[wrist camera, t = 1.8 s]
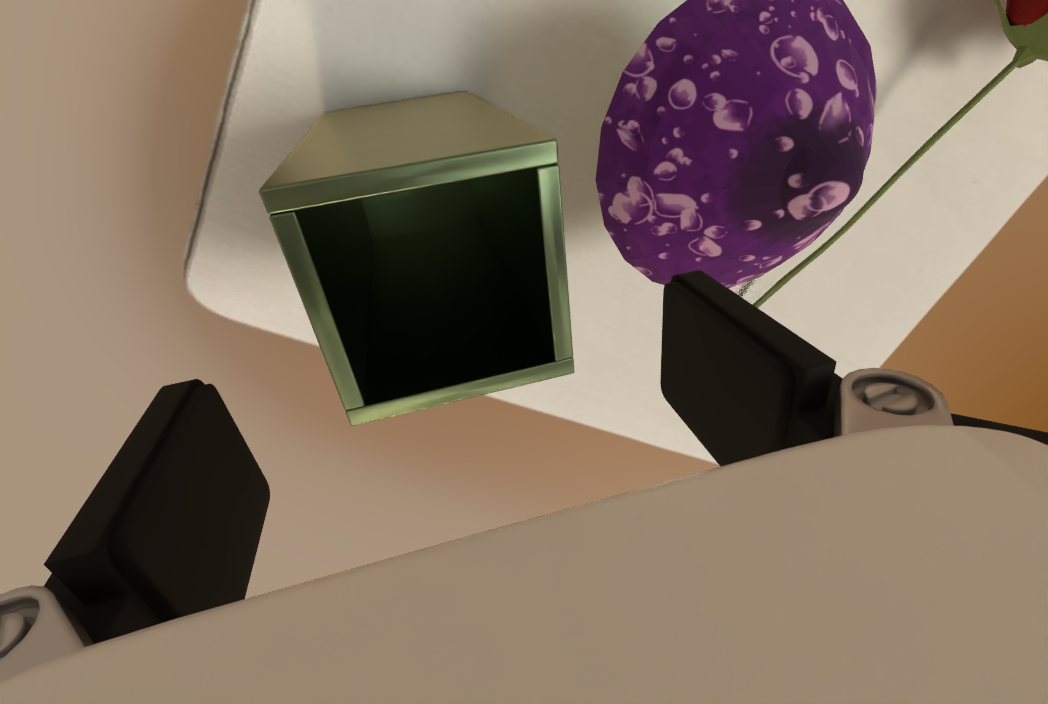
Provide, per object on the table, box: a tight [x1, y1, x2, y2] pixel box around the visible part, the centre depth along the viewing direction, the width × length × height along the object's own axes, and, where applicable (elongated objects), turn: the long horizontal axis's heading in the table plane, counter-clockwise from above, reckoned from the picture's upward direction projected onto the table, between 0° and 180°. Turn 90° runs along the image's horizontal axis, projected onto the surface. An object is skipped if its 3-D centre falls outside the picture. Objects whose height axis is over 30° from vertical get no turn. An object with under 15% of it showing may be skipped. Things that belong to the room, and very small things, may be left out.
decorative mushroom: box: [596, 0, 877, 289], centre depth 22 cm, size 12×12×15 cm
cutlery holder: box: [259, 91, 574, 426], centre depth 20 cm, size 7×7×16 cm
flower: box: [753, 0, 1048, 308], centre depth 31 cm, size 11×10×30 cm
